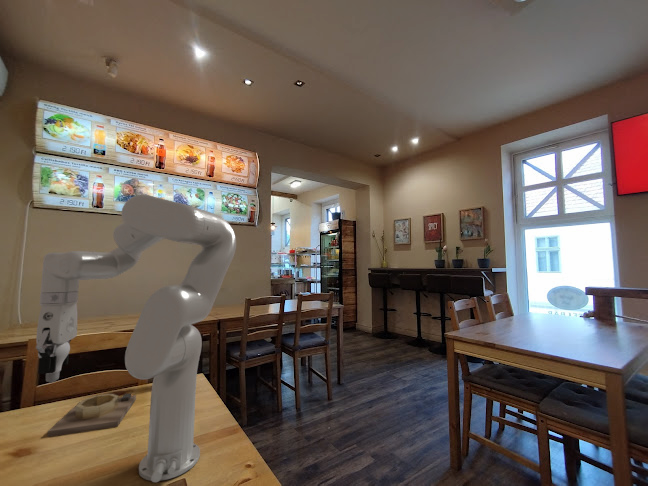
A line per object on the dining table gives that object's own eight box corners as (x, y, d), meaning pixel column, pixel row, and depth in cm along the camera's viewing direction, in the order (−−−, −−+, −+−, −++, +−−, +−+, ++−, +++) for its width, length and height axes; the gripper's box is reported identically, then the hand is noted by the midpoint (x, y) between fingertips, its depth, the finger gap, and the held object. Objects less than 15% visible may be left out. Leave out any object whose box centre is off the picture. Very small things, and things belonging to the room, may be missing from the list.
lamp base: (117, 426, 82) (118, 416, 83) (47, 436, 77) (48, 426, 78) (135, 399, 99) (136, 391, 100) (79, 406, 94) (79, 398, 94)
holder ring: (110, 415, 86) (110, 405, 86) (70, 421, 82) (71, 410, 83) (121, 401, 95) (121, 392, 95) (85, 406, 91) (86, 396, 92)
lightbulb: (47, 388, 71) (51, 342, 72) (28, 386, 72) (32, 341, 73) (73, 378, 77) (76, 336, 78) (56, 377, 78) (59, 335, 79)
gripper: (59, 301, 70) (53, 379, 68) (90, 295, 86) (86, 358, 84) (20, 302, 67) (12, 383, 66) (59, 296, 84) (53, 360, 82)
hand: (53, 368), depth 75 cm, fingers closed on lightbulb, 5 cm apart
